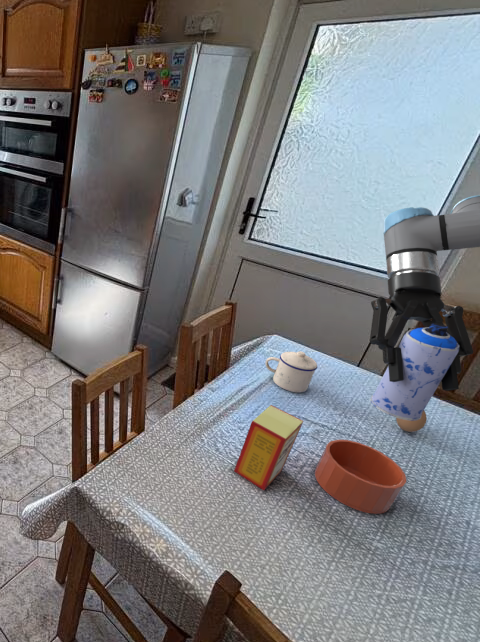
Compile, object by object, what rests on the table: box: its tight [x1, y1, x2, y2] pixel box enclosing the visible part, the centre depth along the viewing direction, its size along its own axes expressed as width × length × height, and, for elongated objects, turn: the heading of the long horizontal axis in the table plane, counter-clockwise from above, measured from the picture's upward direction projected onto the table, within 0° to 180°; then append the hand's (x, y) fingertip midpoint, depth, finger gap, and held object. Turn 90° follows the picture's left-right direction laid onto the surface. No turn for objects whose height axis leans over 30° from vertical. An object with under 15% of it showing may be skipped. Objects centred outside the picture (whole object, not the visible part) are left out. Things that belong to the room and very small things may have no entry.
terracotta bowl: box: [314, 439, 407, 515], centre depth 92 cm, size 13×13×8 cm
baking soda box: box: [233, 404, 304, 491], centre depth 95 cm, size 10×6×16 cm
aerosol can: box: [369, 323, 459, 421], centre depth 82 cm, size 8×8×20 cm
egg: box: [395, 410, 428, 433], centre depth 108 cm, size 5×5×8 cm
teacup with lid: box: [264, 350, 318, 394], centre depth 126 cm, size 12×9×12 cm
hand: (423, 384), depth 80 cm, fingers closed on aerosol can, 7 cm apart
